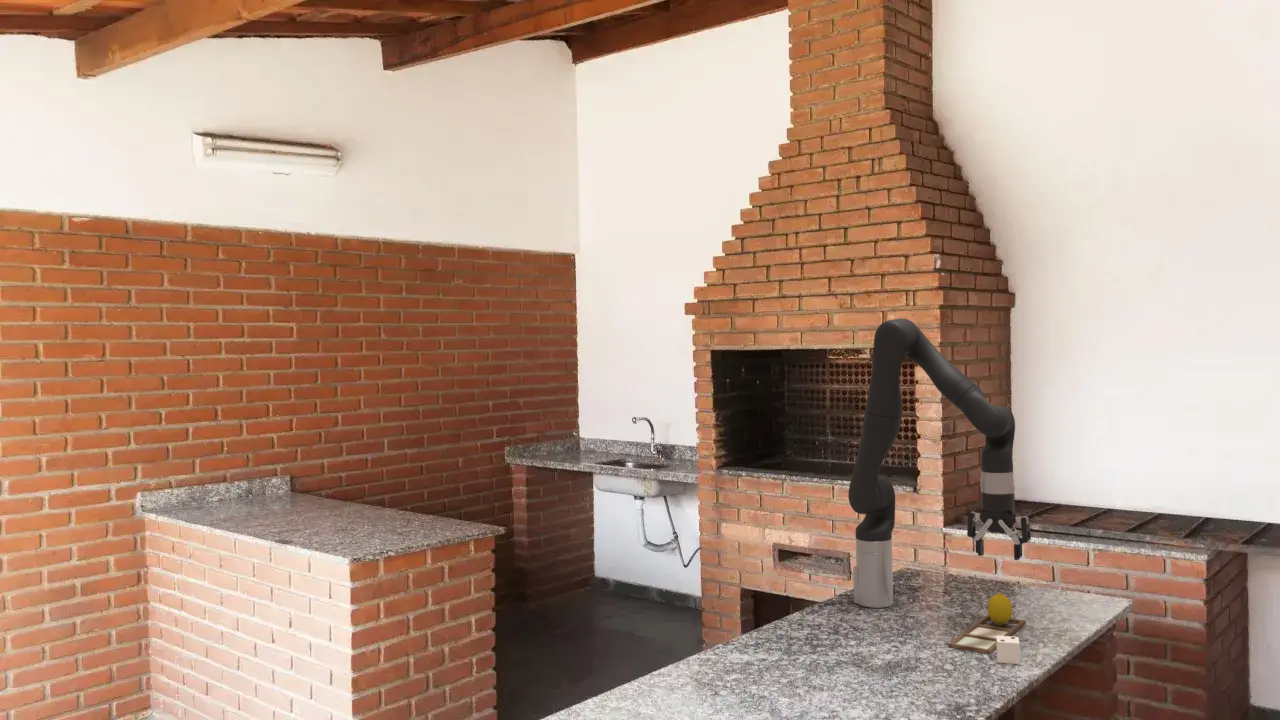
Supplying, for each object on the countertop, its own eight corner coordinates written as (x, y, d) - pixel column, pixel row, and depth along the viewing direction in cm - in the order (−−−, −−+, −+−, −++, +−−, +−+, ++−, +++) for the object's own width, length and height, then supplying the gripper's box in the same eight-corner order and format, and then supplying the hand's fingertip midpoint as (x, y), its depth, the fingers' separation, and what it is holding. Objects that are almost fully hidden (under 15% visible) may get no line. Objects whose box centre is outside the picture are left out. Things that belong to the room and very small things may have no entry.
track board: (948, 647, 224) (948, 643, 224) (987, 617, 244) (987, 614, 244) (989, 654, 218) (989, 650, 218) (1025, 623, 239) (1025, 620, 239)
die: (997, 662, 213) (997, 641, 213) (996, 655, 217) (996, 635, 217) (1019, 664, 211) (1019, 643, 211) (1018, 657, 216) (1018, 636, 216)
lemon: (1008, 622, 240) (1008, 589, 240) (1015, 629, 235) (1014, 596, 235) (985, 622, 241) (984, 589, 241) (991, 629, 235) (990, 596, 235)
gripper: (962, 490, 238) (963, 557, 239) (1023, 494, 229) (1024, 564, 230) (973, 485, 244) (974, 551, 245) (1032, 489, 235) (1034, 557, 236)
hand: (998, 557), depth 237 cm, fingers open, 8 cm apart
